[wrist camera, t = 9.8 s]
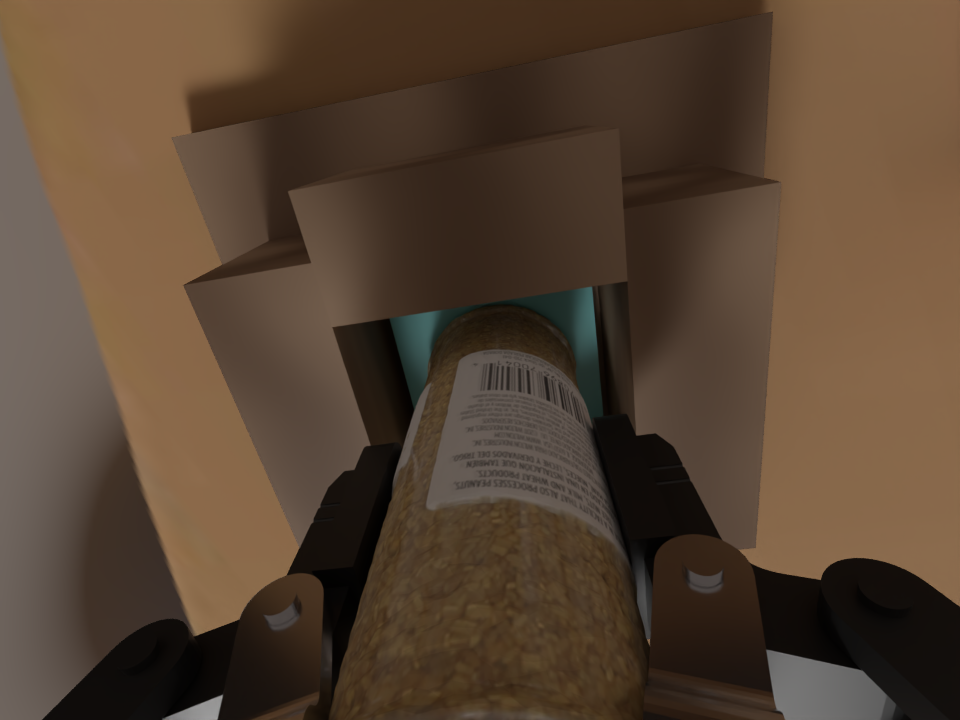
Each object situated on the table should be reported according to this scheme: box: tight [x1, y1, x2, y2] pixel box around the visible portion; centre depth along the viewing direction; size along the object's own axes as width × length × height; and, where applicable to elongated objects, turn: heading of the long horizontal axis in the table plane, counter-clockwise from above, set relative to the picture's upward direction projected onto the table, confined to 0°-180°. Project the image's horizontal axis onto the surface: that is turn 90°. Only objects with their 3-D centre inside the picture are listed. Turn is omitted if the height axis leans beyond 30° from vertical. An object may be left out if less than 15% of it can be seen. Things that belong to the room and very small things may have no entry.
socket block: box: [172, 12, 781, 550], centre depth 15 cm, size 16×16×6 cm
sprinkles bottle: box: [329, 304, 650, 720], centre depth 10 cm, size 5×5×14 cm
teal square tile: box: [389, 287, 603, 423], centre depth 16 cm, size 6×6×1 cm
